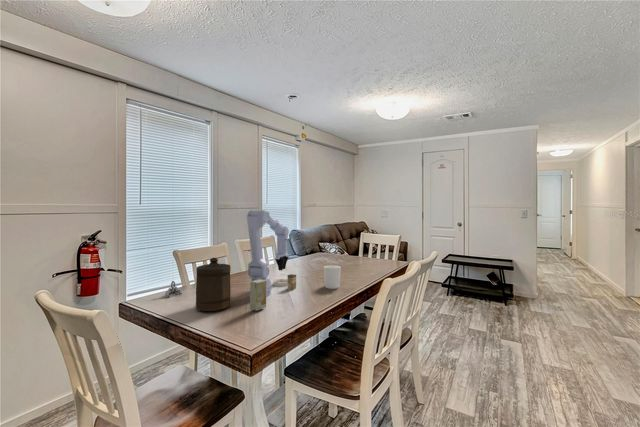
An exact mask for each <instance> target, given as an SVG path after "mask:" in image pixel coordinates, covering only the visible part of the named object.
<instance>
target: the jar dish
mask: <svg viewBox="0 0 640 427" xmlns="http://www.w3.org/2000/svg"><path fill="white" fill-rule="evenodd" d="M272 282H273V285H274V286H275V287H288V278H277V279H275V280H273V281H272Z"/></svg>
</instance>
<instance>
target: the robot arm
mask: <svg viewBox="0 0 640 427" xmlns="http://www.w3.org/2000/svg"><path fill="white" fill-rule="evenodd" d="M246 221H247V230H248V236H249V244H250V252H251V261H249V263H248V265H247V266H248V267H247V274H248V276H249V278H250V280H251V281H255V280H260V279H261V280H266V298H268V297H269V296H270V295H272V293H271V292H272V291H271V290H272V286H271V285H272V284H271V283H272V282H271V279H270V278H268V276H269V275H270V269H269V268H270V267H269V266H268V262H267V261H265V260H264V258H263V250H262V240H261V232H260V230H261V228H263V227H264V226H265V225H266V224H268V226H269V228H270V230H272V231H273V232H274V233H275V236H276V253H275V254H274V255H275V258H274V260H275V262H276V264H277V265H276V266H277V269H278V271H283V270H285V269H286V267H287V263H288V260H289V258H290V257H289V254H288V253H289V252H288V238H289V234H290V231H289V230H290V229H289V227H287V226H284V225H283V224H282V223H281V222H280V221H279V220H277V219H273V217H272V216H271V215H270V212H269V211H268V210H266V209H265V210H264V209H261V210H253V209H250V210H249V211H248V213H247V215H246ZM251 281H250V282H251ZM247 297H249V298H250V294H248V296H247Z"/></svg>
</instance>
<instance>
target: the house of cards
mask: <svg viewBox="0 0 640 427" xmlns="http://www.w3.org/2000/svg"><path fill="white" fill-rule="evenodd" d="M180 295H182V291H181V290H180V289H179V288H178V287H177V286H176V282H175V281H174V280H172V281H171V283H170V287H168V289H167V290H166V291H165V293H164V297H165V298H167V299H170V298H173V297H177V296H180Z"/></svg>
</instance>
